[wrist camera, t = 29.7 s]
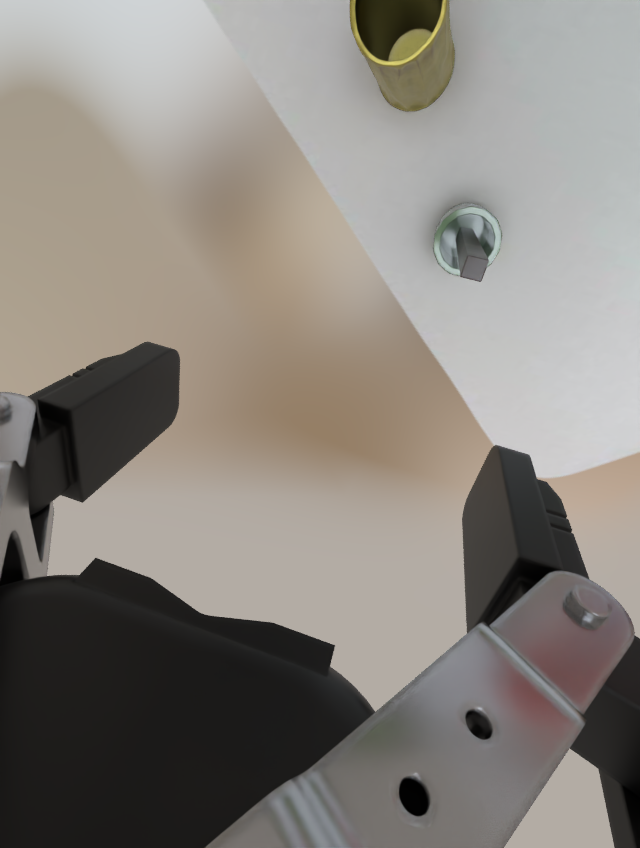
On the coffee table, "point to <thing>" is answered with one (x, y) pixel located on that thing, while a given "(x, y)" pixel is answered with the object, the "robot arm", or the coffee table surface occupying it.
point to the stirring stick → (470, 255)
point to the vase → (406, 48)
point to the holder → (471, 219)
